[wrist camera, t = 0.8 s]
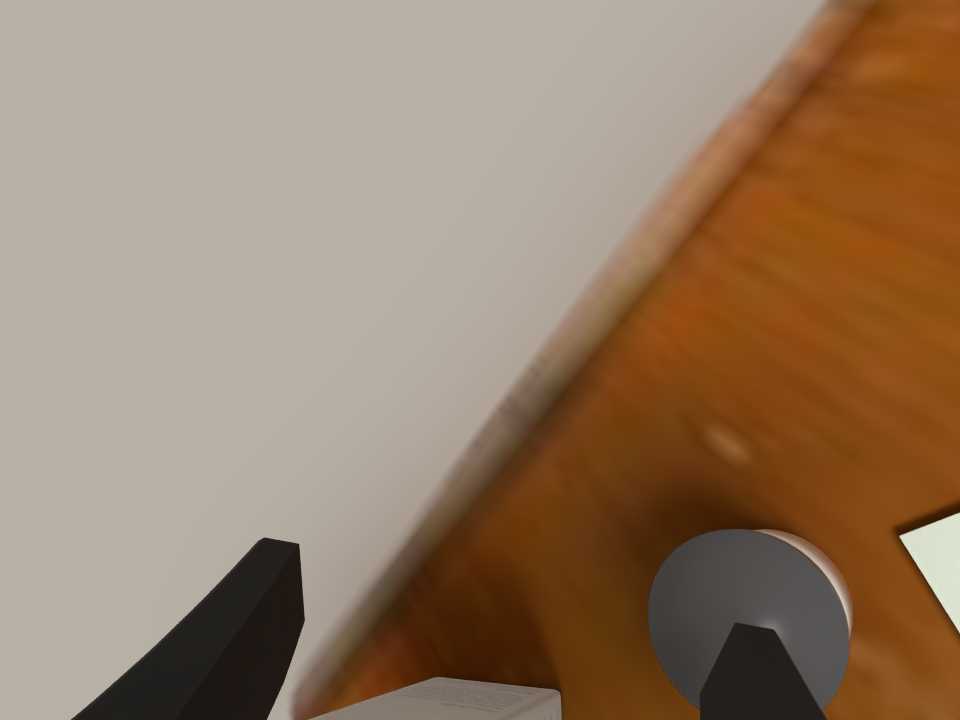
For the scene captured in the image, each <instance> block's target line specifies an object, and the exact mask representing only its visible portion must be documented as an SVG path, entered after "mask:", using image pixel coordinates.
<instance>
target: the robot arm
mask: <svg viewBox="0 0 960 720" xmlns="http://www.w3.org/2000/svg"><path fill="white" fill-rule="evenodd" d="M304 621H305V617H304V604H303V591H302V576H301V562H300V549H299V544H297V543H292V542H286V541H280V540H275V539H270V538H262V539H261V540H259V541H258V542H257V543H256V544H255V545H254V546H253V547H252V548H251V550H250V551H249V552H248V553H247V554H246V555H245V556H244V557H243V558H242V559H241V560H240V561H239V562H238V563H237V565H236V566H235V567H234V568H233V569H232V570H231V571H230V572H229V573H228V574H227V575H226V576H225V577H224V578H223V579H222V580H221V581H220V582H219V584H217V585H216V587H215V588H214V589H213V590H212V591H211V592H210V593H209V594H208V595H207V596H206V597H205V598H204V599H203V600H202V601H201V602H200V603H199V604H198V605H197V606H196V607H195V608H194V609H193V610H192V611H191V612H190V613H189V614H188V615H187V616H185V618H183V619H182V620H181V621H180V622H179V623H178V624H177V625H176V626H175V627H174V628H173V629H172V630H171V631H170V632H169V633H168V634H167V635H166V636H165V637H164V638H163V639H162V640H161V641H160V642H159V643H158V644H157V645H156V646H154V647H153V648H152V649H151V650H150V651H149V652H148V653H147V654H146V655H145V656H144V657H142V658H141V659H140V660H139V661H138V662H137V663H136V664H135V665H133V666H132V667H131V668H130V669H129V670H128V671H127V672H126V673H124V674H123V675H122V676H121V677H120V678H119V679H118V680H117V681H116V682H114V683H113V684H112V685H111V686H110V687H109V688H108V689H106V690H105V691H104V692H103V693H102V694H101V695H100V696H99V697H97V698H96V699H95V700H94V701H93V702H92V703H90V704H89V705H88V706H87V707H86V708H84V709H83V710H82V711H81V712H80V713H78V714H77V715H76V716H75V717H74V718H72V719H71V720H267V718H268V716H269V713H270V711H271V709H272V707H273V705H274V703H275V701H276V698H277V696H278V694H279V692H280V689H281V687H282V685H283V683H284V680H285V677H286V674H287V671H288V669H289V666H290V663H291V660H292V657H293V654H294V652H295V649H296V646H297V643H298V639H299V636H300V633H301V630H302V627H303V624H304ZM699 699H700V719H701V720H827V719H826V717H825V715H824V714H823V712H822V710H821V709H820V707H819V705H818V703H817V702H816V700H815V698H814V697H813V695H812V693H811V692H810V690H809V688H808V686H807V685H806V683H805V681H804V679H803V678H802V676H801V674H800V673H799V671H798V669H797V667H796V666H795V664H794V662H793V660H792V659H791V657H790V655H789V653H788V652H787V650H786V648H785V646H784V645H783V643H782V641H781V639H780V638H779V636H778V634H777V633H776V632H775V630H774V629H769V628H764V627H758V626H753V625H747V624H742V623H736V622H735V623H734V625H733V628H732V630H731V632H730V634H729V636H728V638H727V640H726V642H725V644H724V646H723V648H722V650H721V652H720V654H719V656H718V658H717V660H716V662H715V664H714V666H713V668H712V670H711V672H710V674H709V676H708V678H707V680H706V682H705V684H704V686H703V688H702V690H701V692H700V694H699Z"/></svg>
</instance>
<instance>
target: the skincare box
mask: <svg viewBox="0 0 960 720" xmlns="http://www.w3.org/2000/svg"><path fill="white" fill-rule="evenodd" d="M309 720H562V709H561V695H560V692H559V691H557V690H554V689H544V688H534V687H525V686H516V685H507V684H498V683H489V682H479V681H470V680H461V679H453V678H444V677H435V678H431V679H428V680H426V681H422V682H419V683H416V684H413V685H410V686H407V687H404V688H401V689H398V690H395V691H392V692H389V693H386V694H383V695H380V696H377V697H374V698H371V699H368V700H365V701H362V702H359V703H356V704H353V705H351V706H348V707H344V708H342V709H339V710H336V711H333V712H330V713H327V714H324V715H321V716H318V717H315V718H312V719H309Z"/></svg>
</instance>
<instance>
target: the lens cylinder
mask: <svg viewBox="0 0 960 720" xmlns="http://www.w3.org/2000/svg"><path fill="white" fill-rule="evenodd" d="M853 617H854V614H853V603H852V599H851V594H850V592H849V589H848V586H847V584H846V582H845V580H844V578H843V576H842V574H841V573H840V571H839V569H838V568H837V566H836V565H835V564H834V563H833V562H832V561H831V559H830V558H829V557H828V556H827V555H826V554H825V553H824V552H822V551H821V550H820V549H819V548H817V547H816V546H815V545H813V544H812V543H810V542H808V541H807V540H805V539H803V538H801V537H799V536H796V535H794V534H791V533H787V532H784V531H779V530H770V529H760V530H747V529H727V530H717V531H712V532H707V533H704V534H702V535H699V536H696V537H694V538H692V539H690V540H688V541H686V542H685V543H683V544H682V545H681V546H679V547H678V548H676V549H675V550H674V551H673V552H672V553H671V554H670V555H669V556H668V558H667V559H666V560H665V561H664V563H663V564H662V565H661V567H660V569H659V571H658V572H657V574H656V576H655V579H654V581H653V584H652V587H651V591H650V595H649V602H648V626H649V633H650V637H651V641H652V645H653V648H654V651H655V653H656V656H657V658H658V660H659V662H660V664H661V666H662V668H663V670H664V672H665V673H666V675H667V676H668V678H669V679H670V681H671V682H672V683H673V685H674V686H675V687H676V688H677V689H678V691H679V692H680V693H681V694H682V695H683V696H684V697H685V698H686V699H687V700H688V701H689V702H691V703H692V704H693V705H694V706H696V707H697V708H698V709H699V710H700V699H699V694H700V692H701V690H702V688H703V686H704V684H705V682H706V680H707V678H708V676H709V674H710V672H711V670H712V668H713V666H714V664H715V662H716V660H717V658H718V656H719V654H720V652H721V650H722V648H723V646H724V644H725V642H726V640H727V638H728V636H729V634H730V632H731V630H732V628H733V625H734V623H735V622H736V623H742V624H747V625H753V626H758V627H764V628H769V629H774V630H775V632H776V633H777V634H778V636H779V638H780V639H781V641H782V643H783V645H784V646H785V648H786V650H787V652H788V653H789V655H790V657H791V659H792V660H793V662H794V664H795V666H796V667H797V669H798V671H799V673H800V674H801V676H802V678H803V679H804V681H805V683H806V685H807V686H808V688H809V690H810V692H811V693H812V695H813V697H814V698H815V700H816V702H817V703H818V705H819V707H820V709H821V710H823V709H824V708H825V707H826V706H827V704H828V703H829V702H830V701H831V700H832V699H833V697H834V695H835V694H836V692H837V690H838V689H839V687H840V684H841V682H842V679H843V677H844V674H845V670H846V666H847V662H848V657H849V647H850V636H851V632H852V627H853Z"/></svg>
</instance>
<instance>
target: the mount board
mask: <svg viewBox="0 0 960 720" xmlns="http://www.w3.org/2000/svg"><path fill="white" fill-rule="evenodd" d="M899 537H900V538H901V540H902V542H903V543H904V545H905V546H906V548H907V550H908V551H909V553H910V554H911V556H912V558H913V559H914V561H915V562H916V564H917V566H918V567H919V569H920V570H921V572H922V574H923V575H924V577H925V578H926V580H927V582H928V583H929V585H930V586H931V588H932V589H933V591H934V593H935V594H936V596H937V597H938V599H939V601H940V602H941V604H942V605H943V607H944V609H945V610H946V612H947V613H948V615H949V617H950V618H951V620H952V621H953V623H954V625H955V626H956V628H957V629H958V631H959V633H960V512H959V513H957V514H954V515H951V516H949V517H946V518H944V519H941V520H939V521H936V522H933V523H931V524H928V525H926V526H923V527H920V528H918V529H915V530H913V531H910V532H907V533H905V534H902V535H900V536H899Z"/></svg>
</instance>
